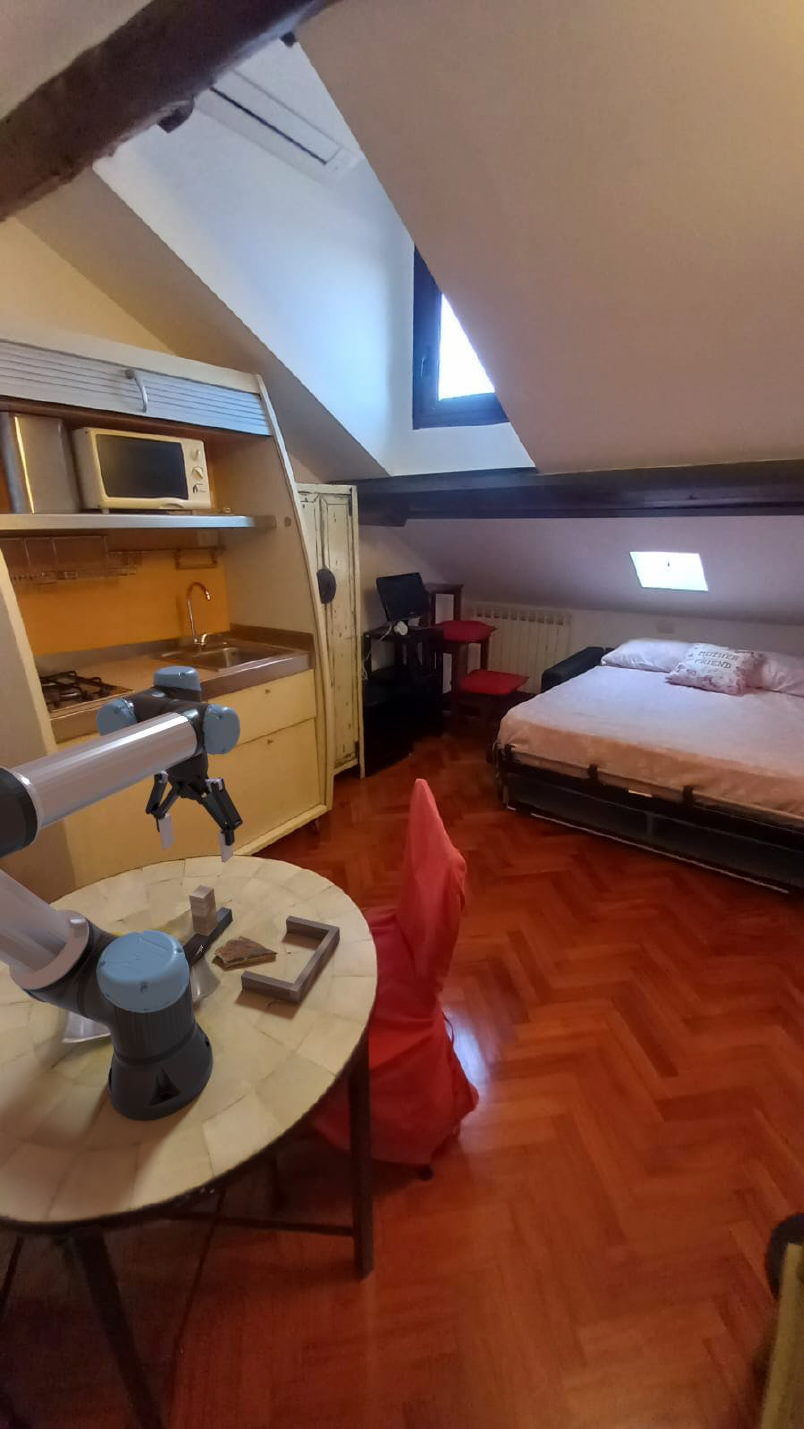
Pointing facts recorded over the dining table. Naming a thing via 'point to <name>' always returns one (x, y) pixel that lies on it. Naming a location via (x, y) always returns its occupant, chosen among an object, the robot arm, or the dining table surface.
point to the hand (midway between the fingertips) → (197, 852)
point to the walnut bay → (310, 971)
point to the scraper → (205, 922)
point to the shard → (243, 952)
